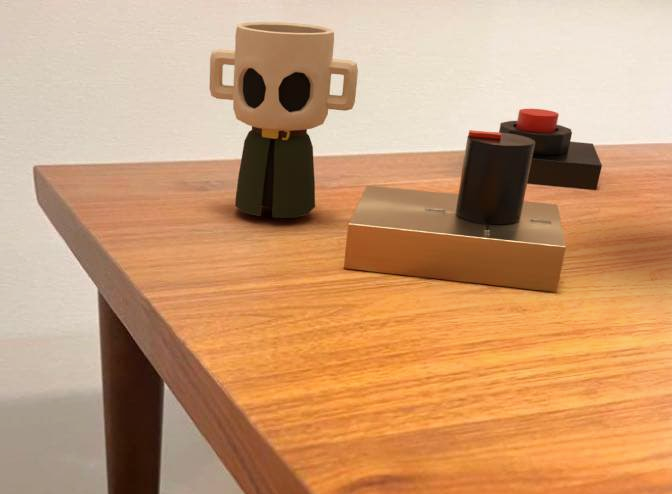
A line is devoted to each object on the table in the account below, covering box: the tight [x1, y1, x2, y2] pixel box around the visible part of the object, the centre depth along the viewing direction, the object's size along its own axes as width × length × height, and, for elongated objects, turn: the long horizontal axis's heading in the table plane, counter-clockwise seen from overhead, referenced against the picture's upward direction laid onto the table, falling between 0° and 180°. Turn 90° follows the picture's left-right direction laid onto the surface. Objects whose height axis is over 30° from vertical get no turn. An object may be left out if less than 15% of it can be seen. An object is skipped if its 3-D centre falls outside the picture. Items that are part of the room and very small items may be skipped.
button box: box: [498, 120, 603, 191], centre depth 91 cm, size 12×10×4 cm
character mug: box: [209, 21, 359, 219], centre depth 72 cm, size 11×7×13 cm, turn 77°
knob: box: [456, 129, 535, 224], centre depth 65 cm, size 4×4×5 cm
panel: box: [343, 185, 567, 293], centre depth 68 cm, size 14×11×3 cm
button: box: [516, 108, 560, 132], centre depth 90 cm, size 4×4×2 cm
